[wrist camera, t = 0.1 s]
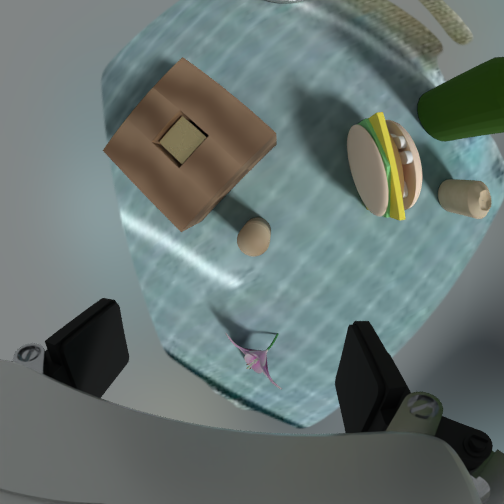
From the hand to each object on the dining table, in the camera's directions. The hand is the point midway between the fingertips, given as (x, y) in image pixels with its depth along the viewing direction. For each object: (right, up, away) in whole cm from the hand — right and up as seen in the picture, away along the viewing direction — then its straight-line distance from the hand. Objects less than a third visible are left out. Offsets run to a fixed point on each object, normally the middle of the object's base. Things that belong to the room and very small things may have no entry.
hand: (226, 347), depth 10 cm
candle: (+34, +13, +26) cm, 45 cm away
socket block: (-7, +19, +28) cm, 35 cm away
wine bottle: (+32, +26, +23) cm, 47 cm away
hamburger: (+19, +16, +26) cm, 36 cm away
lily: (+2, -12, +35) cm, 38 cm away
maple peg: (+2, +7, +30) cm, 31 cm away
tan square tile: (-7, +17, +21) cm, 28 cm away
